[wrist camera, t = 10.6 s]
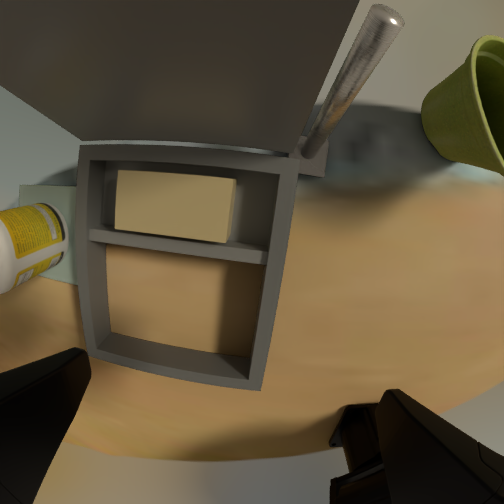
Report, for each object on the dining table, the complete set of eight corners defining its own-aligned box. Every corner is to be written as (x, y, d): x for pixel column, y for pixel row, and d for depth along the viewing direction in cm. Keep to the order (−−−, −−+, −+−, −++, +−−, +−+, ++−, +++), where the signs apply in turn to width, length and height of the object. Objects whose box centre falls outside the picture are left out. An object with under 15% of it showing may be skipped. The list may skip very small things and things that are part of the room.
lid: (403, -95, 1) (387, -106, 1) (-80, 34, 1) (-61, 8, 1) (292, 155, 15) (294, 135, 15) (82, 142, 15) (87, 125, 15)
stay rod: (320, 177, 18) (425, 181, 6) (285, 171, 18) (336, 159, 6) (329, 106, 17) (425, 17, 5) (294, 99, 17) (347, -12, 5)
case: (260, 368, 22) (260, 394, 19) (102, 338, 22) (85, 358, 19) (294, 162, 18) (301, 159, 15) (100, 147, 18) (76, 144, 15)
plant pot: (408, 182, 18) (488, 191, 10) (390, 61, 16) (451, 14, 7) (489, 183, 17) (562, 194, 9) (475, 80, 15) (540, 60, 7)
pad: (87, 285, 21) (85, 287, 20) (25, 269, 21) (23, 271, 20) (86, 186, 19) (83, 187, 18) (22, 184, 19) (19, 185, 18)
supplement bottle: (32, 194, 18) (-56, 212, 9) (76, 212, 19) (-19, 240, 9) (26, 252, 20) (-52, 288, 10) (67, 274, 20) (-13, 325, 11)
